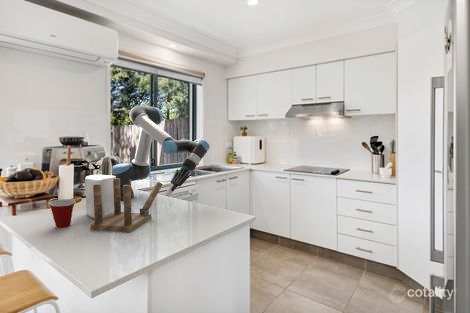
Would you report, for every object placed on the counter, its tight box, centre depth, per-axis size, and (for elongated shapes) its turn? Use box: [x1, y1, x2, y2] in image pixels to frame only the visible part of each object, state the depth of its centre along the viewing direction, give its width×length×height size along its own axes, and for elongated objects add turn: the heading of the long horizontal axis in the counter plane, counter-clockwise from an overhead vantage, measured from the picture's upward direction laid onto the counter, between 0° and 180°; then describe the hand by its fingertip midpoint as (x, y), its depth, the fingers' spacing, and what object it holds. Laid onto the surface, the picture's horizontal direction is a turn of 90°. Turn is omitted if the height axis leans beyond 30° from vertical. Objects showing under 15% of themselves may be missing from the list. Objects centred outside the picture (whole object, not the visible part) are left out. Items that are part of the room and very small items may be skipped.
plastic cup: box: [48, 198, 76, 229], centre depth 127 cm, size 11×11×12 cm
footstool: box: [89, 178, 152, 233], centre depth 130 cm, size 20×20×21 cm
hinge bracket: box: [139, 207, 150, 216], centre depth 137 cm, size 2×5×3 cm, turn 46°
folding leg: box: [141, 181, 163, 211], centre depth 140 cm, size 3×3×16 cm
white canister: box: [84, 174, 116, 220], centre depth 144 cm, size 15×14×22 cm
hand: (167, 195), depth 146 cm, fingers closed
